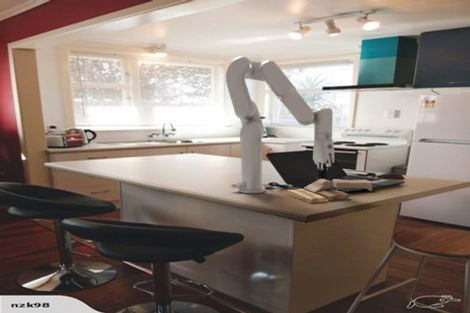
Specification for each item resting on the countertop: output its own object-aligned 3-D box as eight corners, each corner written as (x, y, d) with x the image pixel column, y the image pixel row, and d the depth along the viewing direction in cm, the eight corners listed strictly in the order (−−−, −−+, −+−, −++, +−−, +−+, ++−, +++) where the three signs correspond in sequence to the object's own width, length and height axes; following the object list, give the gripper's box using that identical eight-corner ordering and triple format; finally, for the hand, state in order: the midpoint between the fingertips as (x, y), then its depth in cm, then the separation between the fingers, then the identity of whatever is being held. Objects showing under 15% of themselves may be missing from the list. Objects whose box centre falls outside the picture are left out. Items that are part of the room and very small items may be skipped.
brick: (365, 188, 167) (366, 178, 166) (372, 191, 159) (373, 181, 158) (331, 188, 167) (331, 178, 166) (336, 192, 159) (336, 182, 158)
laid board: (309, 203, 137) (310, 198, 137) (287, 194, 154) (287, 189, 154) (327, 201, 140) (327, 197, 140) (303, 192, 157) (303, 188, 157)
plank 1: (315, 195, 149) (314, 191, 148) (304, 191, 157) (303, 188, 156) (333, 184, 152) (332, 181, 151) (322, 181, 160) (321, 178, 159)
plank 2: (328, 200, 140) (328, 196, 140) (316, 195, 148) (316, 192, 148) (349, 197, 144) (349, 194, 144) (336, 193, 152) (336, 189, 152)
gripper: (341, 137, 146) (340, 180, 149) (320, 135, 160) (319, 175, 162) (326, 138, 144) (325, 182, 146) (306, 136, 158) (305, 176, 160)
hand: (322, 178), depth 154 cm, fingers closed
